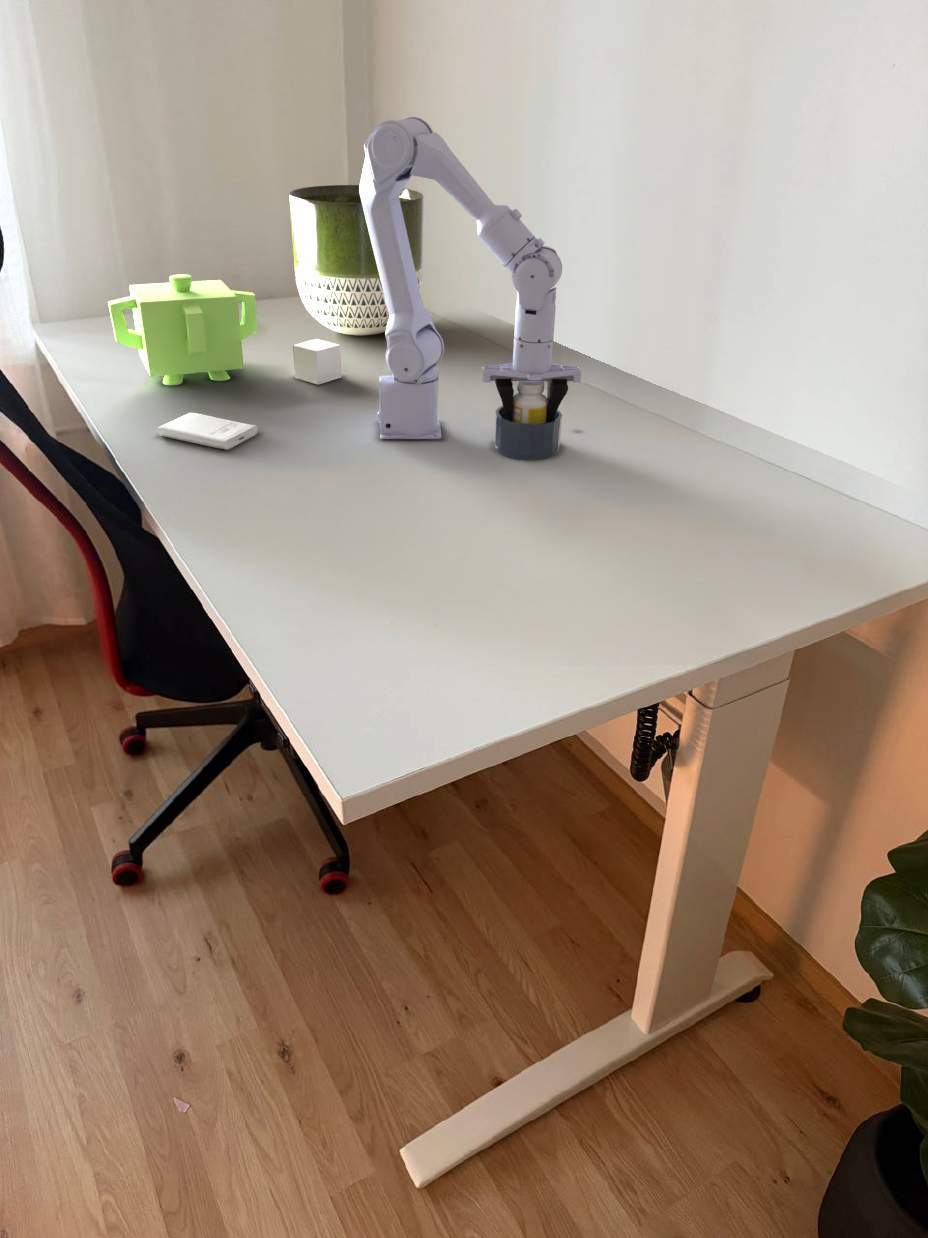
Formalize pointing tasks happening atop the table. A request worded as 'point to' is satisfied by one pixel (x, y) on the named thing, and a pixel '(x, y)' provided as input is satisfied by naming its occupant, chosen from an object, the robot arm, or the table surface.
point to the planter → (345, 256)
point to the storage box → (186, 327)
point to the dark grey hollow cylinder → (527, 437)
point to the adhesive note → (317, 361)
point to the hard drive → (208, 430)
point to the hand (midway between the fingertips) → (527, 427)
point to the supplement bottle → (529, 403)
